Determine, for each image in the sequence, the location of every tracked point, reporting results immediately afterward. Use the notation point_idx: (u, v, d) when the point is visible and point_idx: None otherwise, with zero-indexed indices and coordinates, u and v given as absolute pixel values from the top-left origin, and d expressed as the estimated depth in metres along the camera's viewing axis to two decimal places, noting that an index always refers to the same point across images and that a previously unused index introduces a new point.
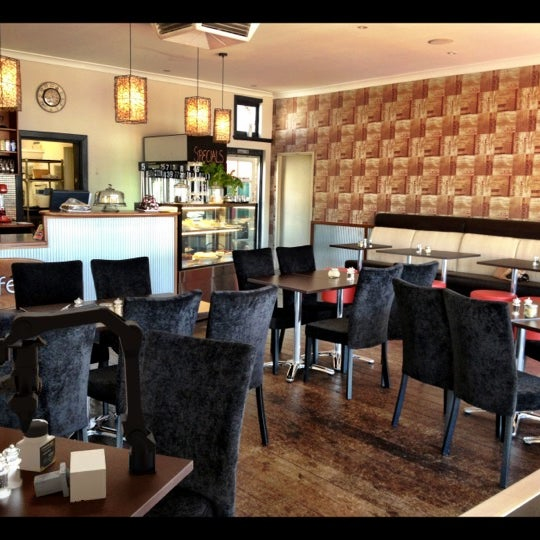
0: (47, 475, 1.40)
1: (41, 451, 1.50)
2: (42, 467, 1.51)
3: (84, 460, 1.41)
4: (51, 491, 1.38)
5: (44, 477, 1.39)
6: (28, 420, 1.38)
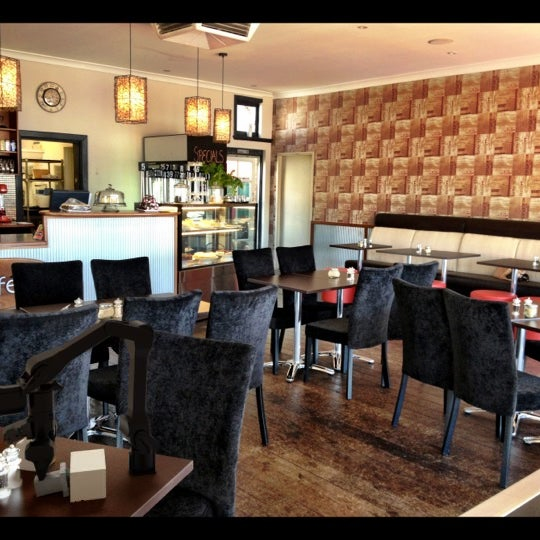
0: (47, 475, 1.40)
1: None
2: None
3: (84, 460, 1.41)
4: (51, 491, 1.38)
5: None
6: (45, 468, 1.33)
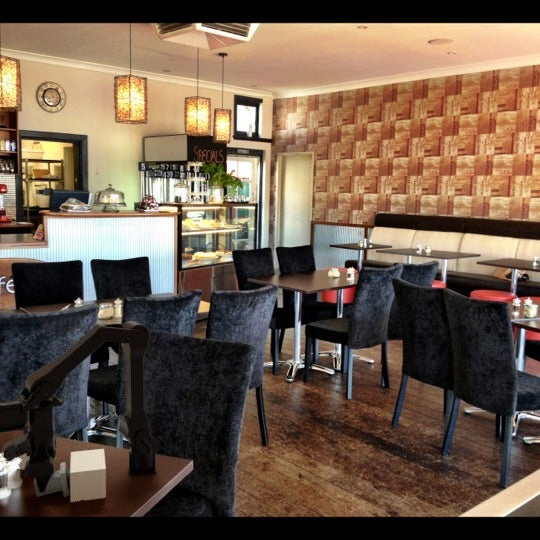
0: None
1: None
2: None
3: (84, 460, 1.41)
4: (51, 491, 1.38)
5: None
6: (45, 480, 1.36)
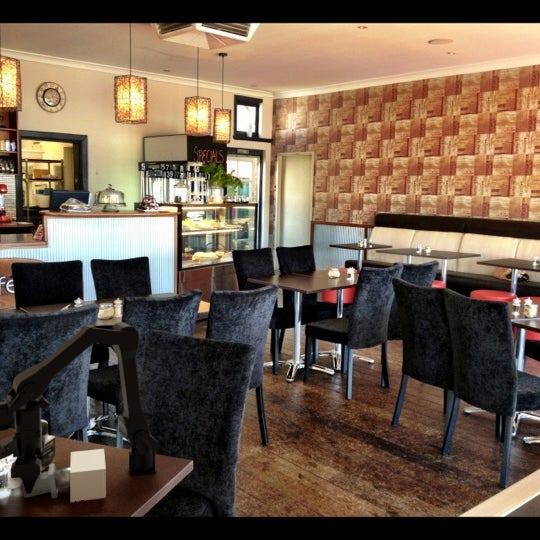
0: None
1: None
2: (42, 467, 1.51)
3: (84, 460, 1.41)
4: (39, 492, 1.37)
5: None
6: (32, 481, 1.35)
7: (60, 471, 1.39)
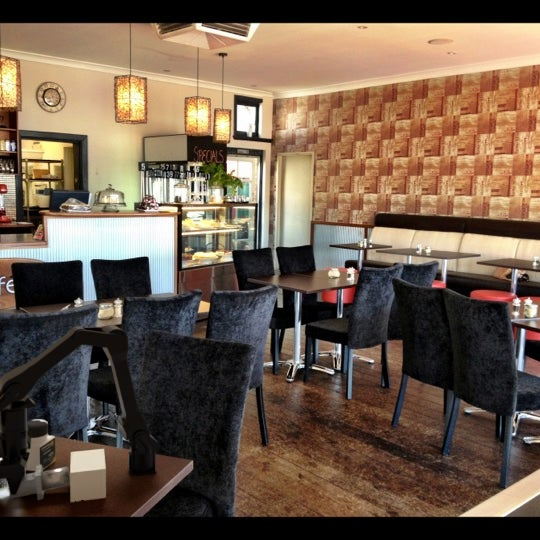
0: None
1: (41, 451, 1.50)
2: (42, 467, 1.51)
3: (84, 460, 1.41)
4: (25, 493, 1.36)
5: None
6: (17, 482, 1.34)
7: (47, 472, 1.39)
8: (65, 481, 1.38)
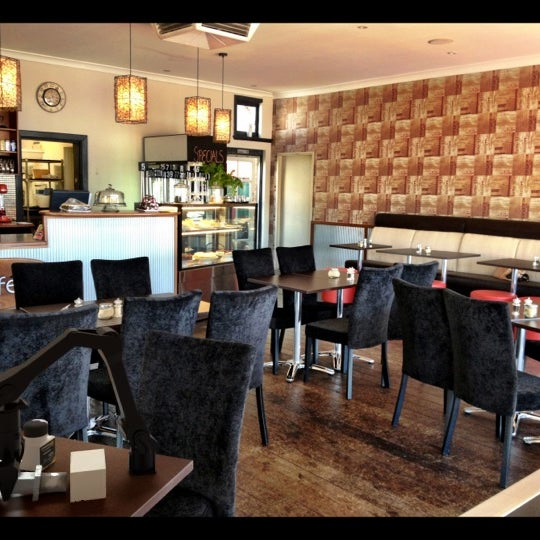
0: (21, 474, 1.38)
1: (41, 451, 1.50)
2: (42, 467, 1.51)
3: (84, 460, 1.41)
4: (21, 492, 1.36)
5: None
6: (9, 489, 1.31)
7: (47, 475, 1.38)
8: (62, 487, 1.38)
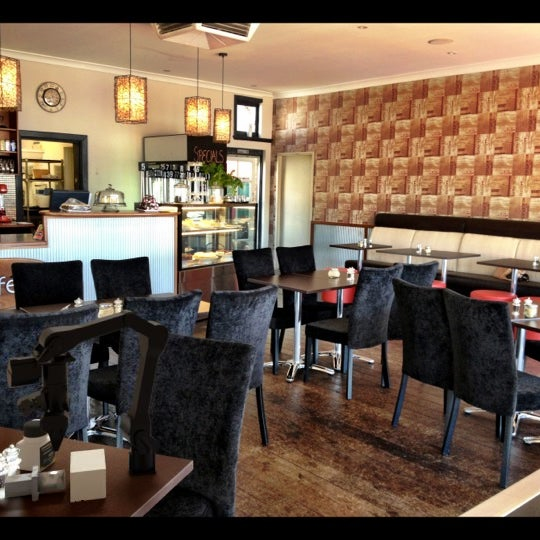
0: (18, 476, 1.38)
1: (41, 451, 1.50)
2: (42, 467, 1.51)
3: (84, 460, 1.41)
4: (20, 493, 1.36)
5: (15, 478, 1.37)
6: (59, 438, 1.35)
7: (44, 474, 1.38)
8: (61, 484, 1.38)
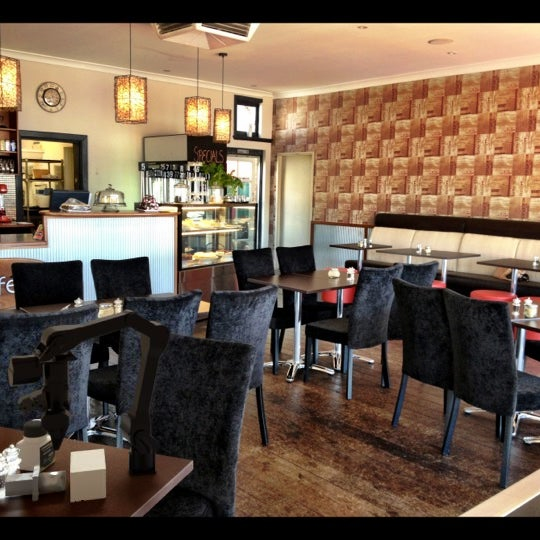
0: (19, 476, 1.38)
1: (41, 451, 1.50)
2: (42, 467, 1.51)
3: (84, 460, 1.41)
4: (21, 493, 1.36)
5: (16, 477, 1.37)
6: (60, 437, 1.35)
7: (45, 474, 1.38)
8: (61, 485, 1.38)
